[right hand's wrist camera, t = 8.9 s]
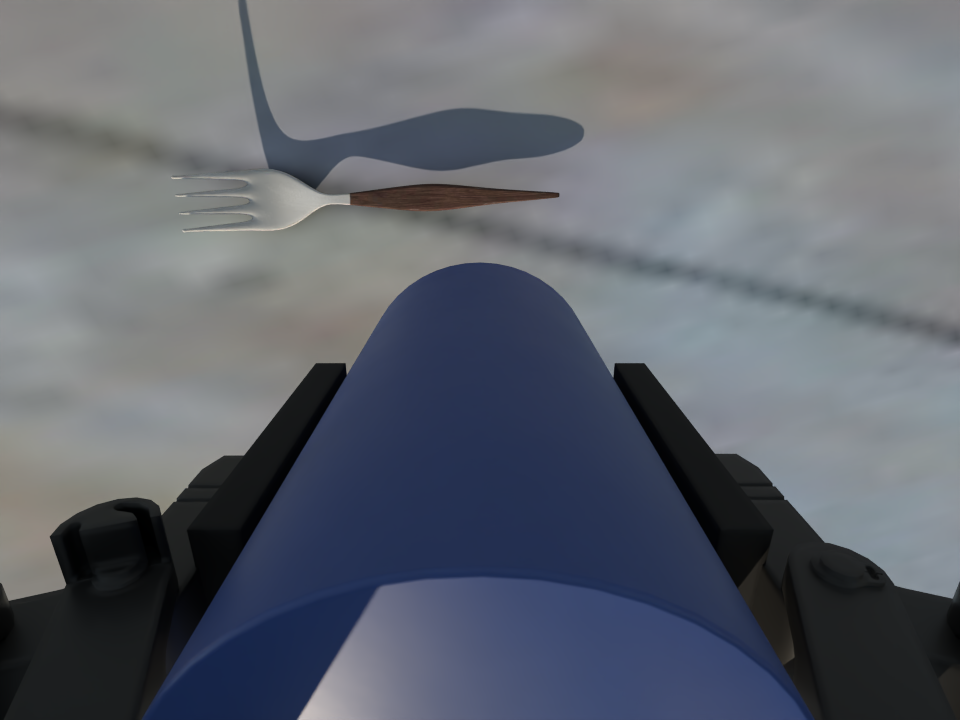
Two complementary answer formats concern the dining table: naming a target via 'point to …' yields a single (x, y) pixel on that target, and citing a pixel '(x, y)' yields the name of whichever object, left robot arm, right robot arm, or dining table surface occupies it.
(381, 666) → the canister
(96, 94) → the dining table surface
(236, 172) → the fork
